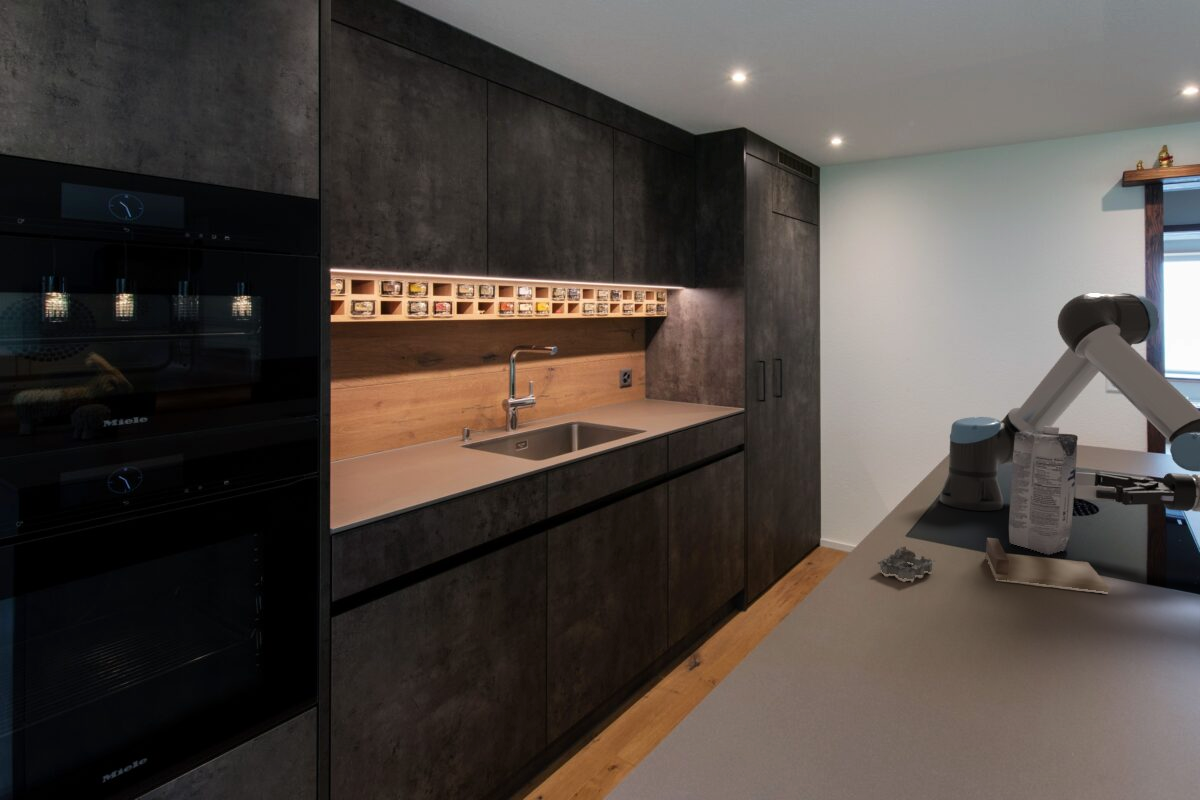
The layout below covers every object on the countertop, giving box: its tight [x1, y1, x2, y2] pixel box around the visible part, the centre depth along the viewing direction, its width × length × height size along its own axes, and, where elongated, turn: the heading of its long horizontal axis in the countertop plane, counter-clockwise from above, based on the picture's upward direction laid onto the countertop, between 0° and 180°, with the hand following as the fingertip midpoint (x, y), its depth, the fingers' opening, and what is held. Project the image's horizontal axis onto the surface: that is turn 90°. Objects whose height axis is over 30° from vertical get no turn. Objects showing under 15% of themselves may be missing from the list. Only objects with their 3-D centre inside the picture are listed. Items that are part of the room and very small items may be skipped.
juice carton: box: [1008, 426, 1079, 556], centre depth 150 cm, size 9×10×27 cm
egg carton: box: [876, 545, 936, 579], centre depth 137 cm, size 11×8×4 cm
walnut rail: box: [985, 537, 1009, 575], centre depth 138 cm, size 2×14×3 cm, turn 158°
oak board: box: [985, 551, 1109, 593], centre depth 135 cm, size 18×14×2 cm
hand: (1067, 484), depth 148 cm, fingers open, 13 cm apart
